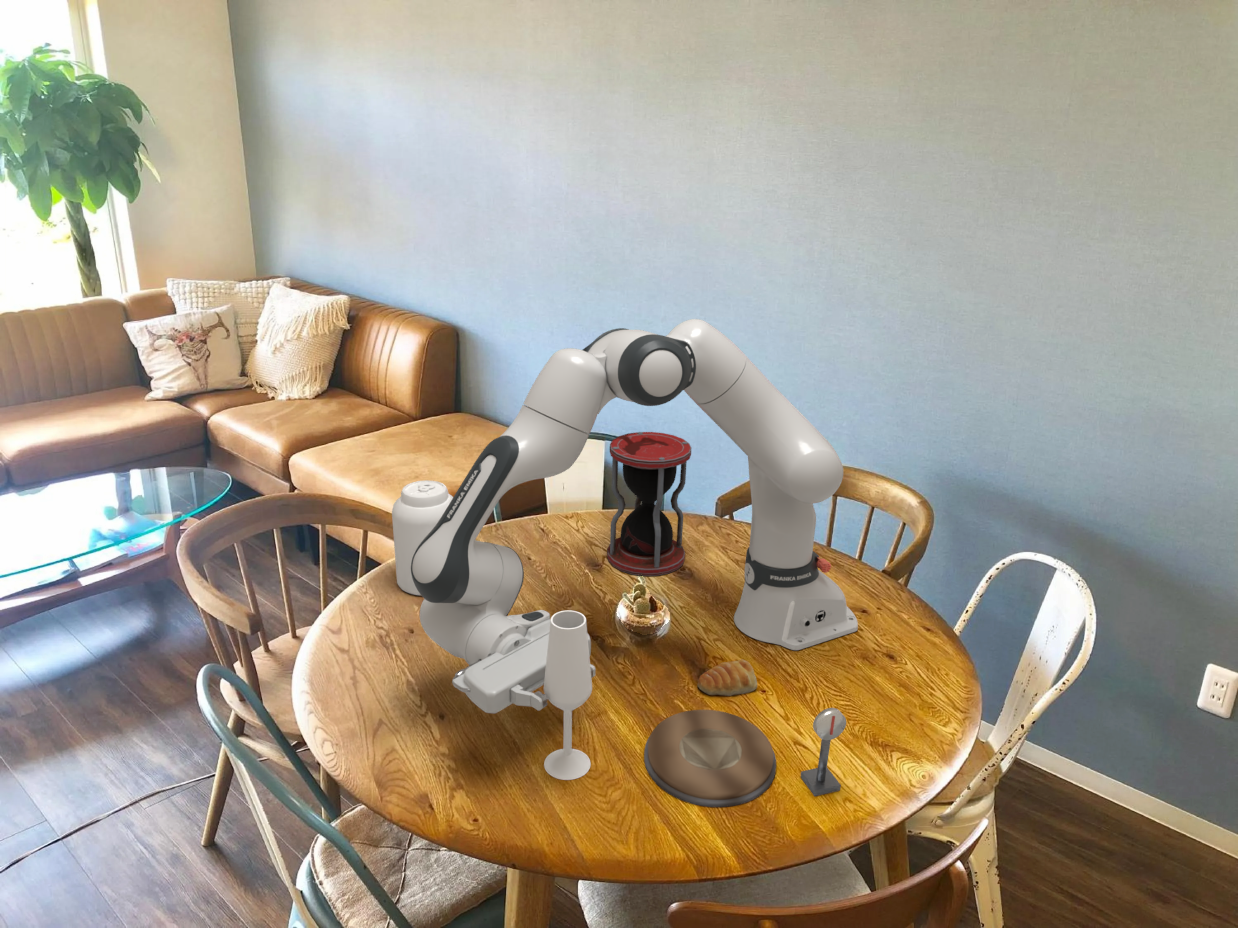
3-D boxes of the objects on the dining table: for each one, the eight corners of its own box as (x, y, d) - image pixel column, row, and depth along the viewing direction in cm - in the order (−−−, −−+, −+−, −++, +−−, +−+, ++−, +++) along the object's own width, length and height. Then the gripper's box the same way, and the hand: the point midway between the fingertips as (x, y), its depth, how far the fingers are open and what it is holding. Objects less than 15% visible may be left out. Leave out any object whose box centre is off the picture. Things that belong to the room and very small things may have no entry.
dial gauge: (826, 771, 132) (836, 697, 127) (841, 790, 128) (852, 715, 124) (799, 777, 131) (808, 703, 126) (813, 796, 127) (823, 721, 122)
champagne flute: (535, 771, 130) (534, 625, 121) (557, 742, 136) (557, 602, 127) (578, 785, 128) (579, 638, 119) (598, 756, 134) (601, 613, 124)
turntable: (741, 708, 145) (742, 698, 144) (799, 790, 128) (801, 779, 127) (626, 730, 139) (627, 719, 138) (672, 819, 122) (673, 807, 122)
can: (412, 562, 186) (406, 471, 178) (471, 570, 184) (468, 478, 176) (385, 592, 175) (378, 496, 167) (448, 601, 172) (443, 504, 165)
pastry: (708, 704, 146) (710, 684, 145) (689, 680, 152) (691, 661, 150) (760, 692, 149) (762, 672, 148) (740, 669, 155) (741, 650, 154)
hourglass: (670, 536, 200) (676, 428, 190) (695, 572, 185) (703, 457, 176) (598, 544, 196) (600, 433, 186) (618, 580, 181) (622, 463, 172)
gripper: (444, 660, 127) (511, 703, 119) (550, 605, 141) (617, 639, 133) (446, 698, 129) (512, 742, 121) (551, 640, 144) (616, 676, 135)
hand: (568, 688), depth 127 cm, fingers open, 8 cm apart
